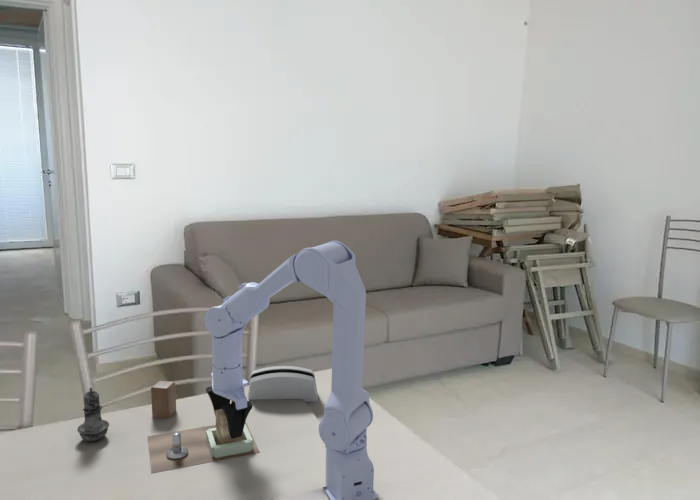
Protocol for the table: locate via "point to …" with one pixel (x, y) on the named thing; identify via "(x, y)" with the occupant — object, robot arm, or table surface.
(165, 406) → the wooden block
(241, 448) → the socket collar
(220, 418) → the maple peg
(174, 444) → the metal post
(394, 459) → the table surface
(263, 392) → the white rounded block
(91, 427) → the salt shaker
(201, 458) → the walnut board
